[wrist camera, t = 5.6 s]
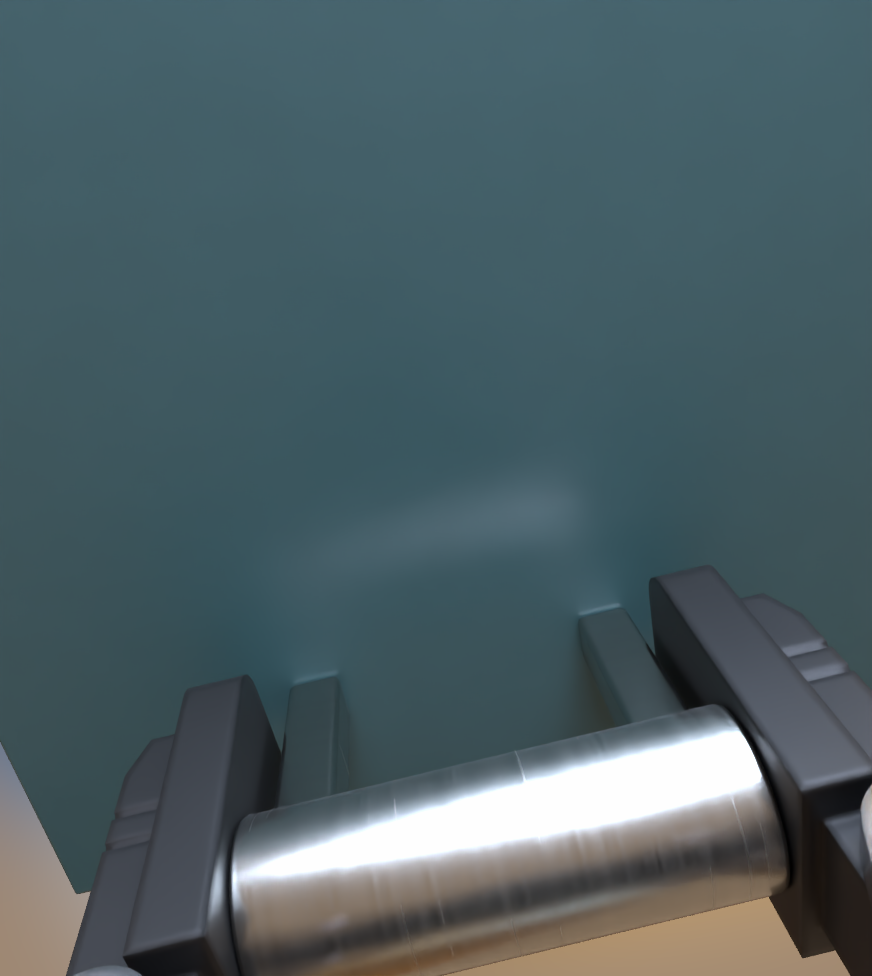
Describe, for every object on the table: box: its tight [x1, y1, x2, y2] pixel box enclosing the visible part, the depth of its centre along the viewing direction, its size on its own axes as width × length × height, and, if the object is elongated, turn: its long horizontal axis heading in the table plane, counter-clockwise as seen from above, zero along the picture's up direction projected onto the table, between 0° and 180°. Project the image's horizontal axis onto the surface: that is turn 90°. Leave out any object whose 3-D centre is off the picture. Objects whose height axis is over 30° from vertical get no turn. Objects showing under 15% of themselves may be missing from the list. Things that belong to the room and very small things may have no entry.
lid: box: [0, 0, 872, 976], centre depth 8 cm, size 14×13×5 cm
